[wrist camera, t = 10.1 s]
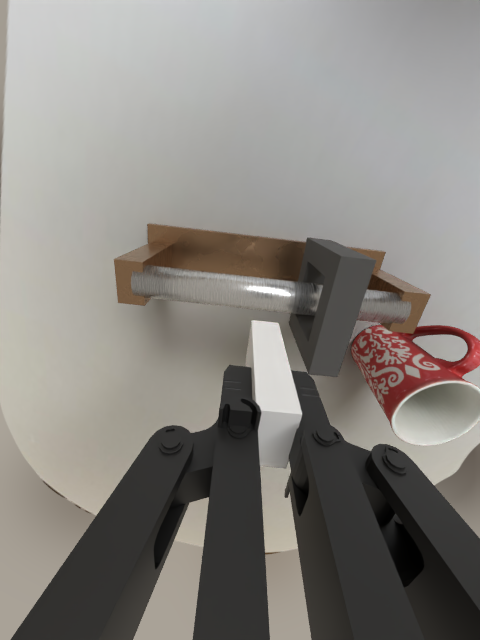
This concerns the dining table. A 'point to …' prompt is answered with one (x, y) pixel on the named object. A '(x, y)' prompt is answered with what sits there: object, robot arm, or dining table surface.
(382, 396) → the mug
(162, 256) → the pipe rig
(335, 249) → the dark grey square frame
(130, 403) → the dining table surface
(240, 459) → the robot arm
